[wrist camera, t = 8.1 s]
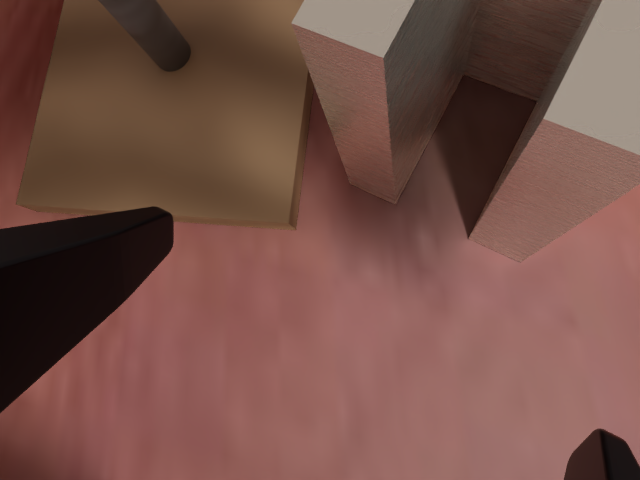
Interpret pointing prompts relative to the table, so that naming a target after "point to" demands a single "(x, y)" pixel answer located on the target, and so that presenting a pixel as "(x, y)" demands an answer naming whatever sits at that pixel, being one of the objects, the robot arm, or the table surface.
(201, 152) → the peg stand
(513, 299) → the table surface
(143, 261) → the robot arm
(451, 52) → the c link
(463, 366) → the table surface
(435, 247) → the table surface
